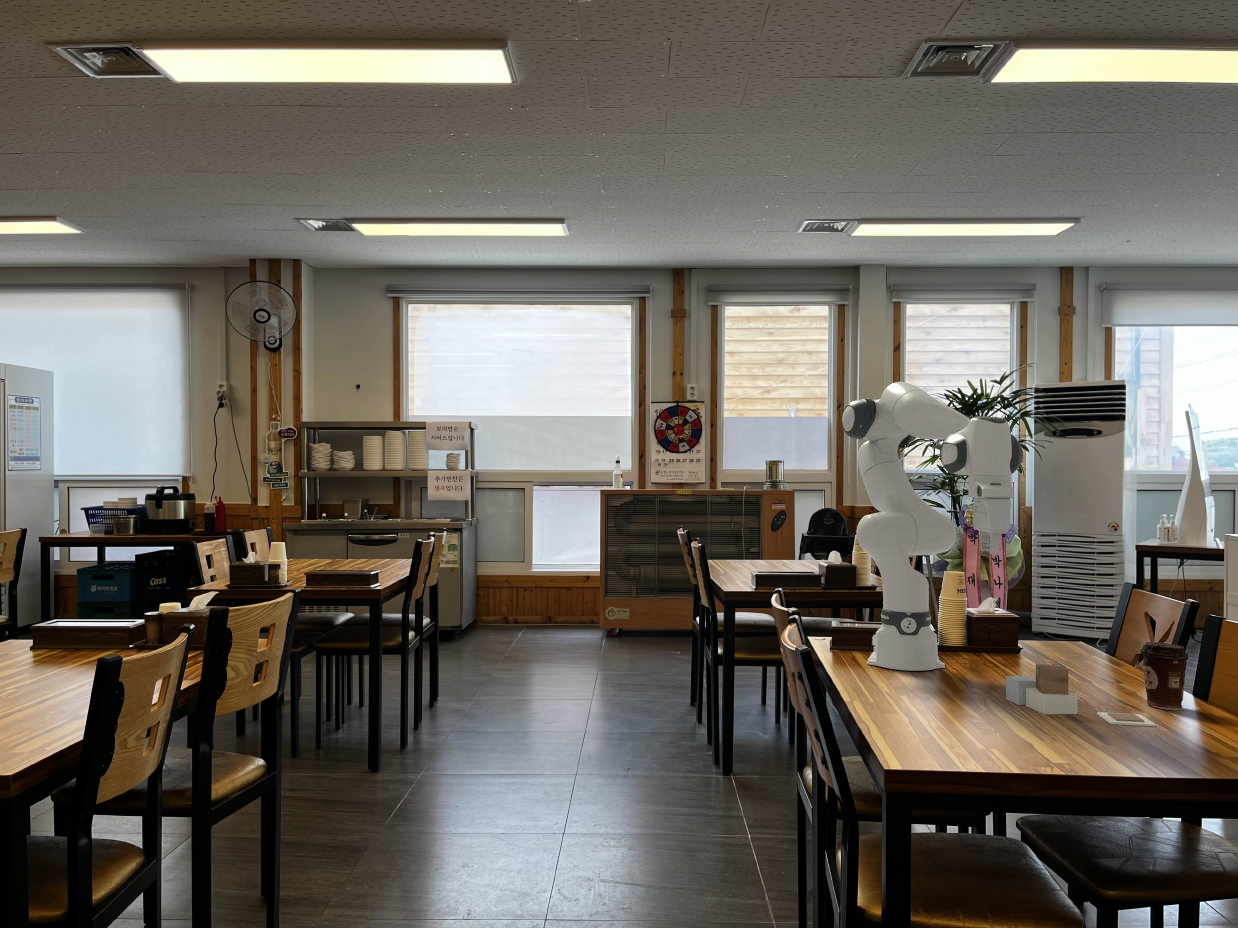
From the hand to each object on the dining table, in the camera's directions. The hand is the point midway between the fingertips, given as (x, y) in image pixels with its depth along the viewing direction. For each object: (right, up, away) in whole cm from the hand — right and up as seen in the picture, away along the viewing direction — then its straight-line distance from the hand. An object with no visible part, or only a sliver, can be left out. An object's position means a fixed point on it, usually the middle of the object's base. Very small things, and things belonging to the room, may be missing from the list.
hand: (989, 552), depth 199 cm
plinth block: (+7, -31, -13) cm, 35 cm away
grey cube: (+5, -31, -6) cm, 32 cm away
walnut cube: (+8, -27, -12) cm, 31 cm away
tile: (+18, -31, -21) cm, 41 cm away
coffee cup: (+33, -32, -9) cm, 46 cm away
